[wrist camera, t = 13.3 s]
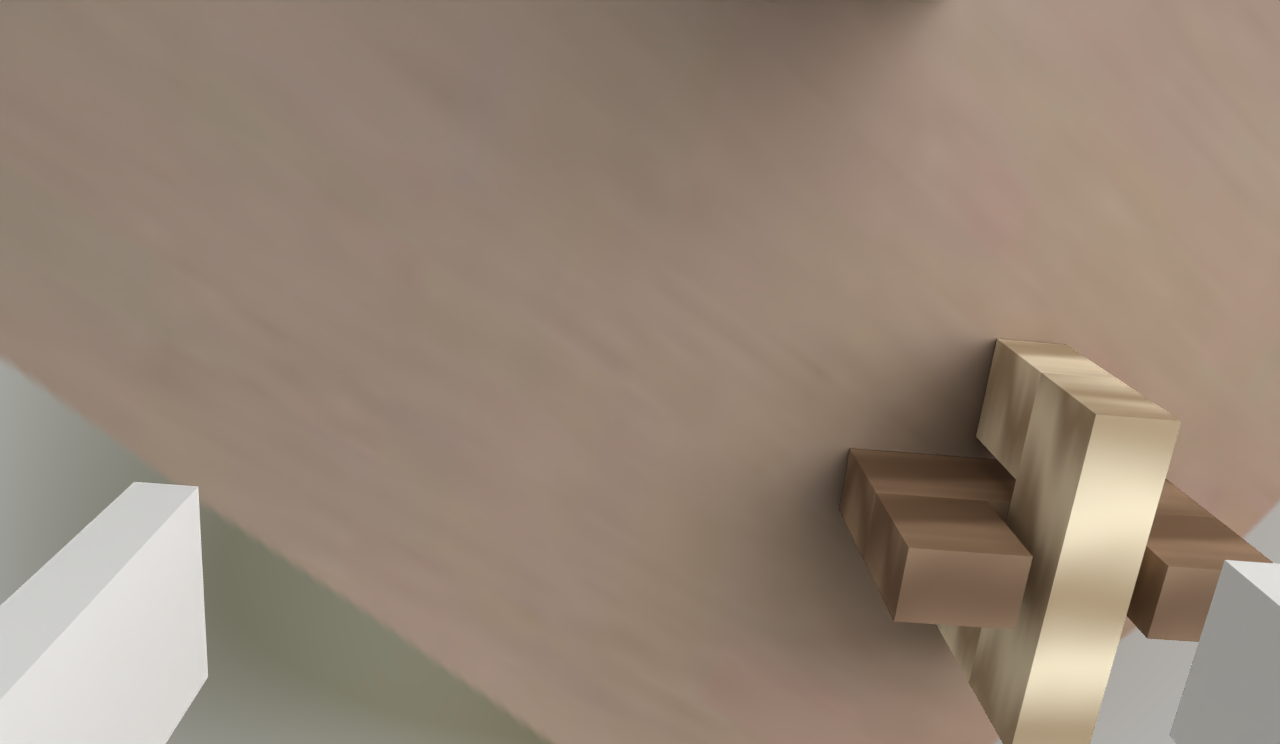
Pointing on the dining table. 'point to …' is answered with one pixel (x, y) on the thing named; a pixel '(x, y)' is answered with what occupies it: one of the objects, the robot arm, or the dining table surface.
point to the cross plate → (1064, 535)
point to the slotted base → (1010, 546)
